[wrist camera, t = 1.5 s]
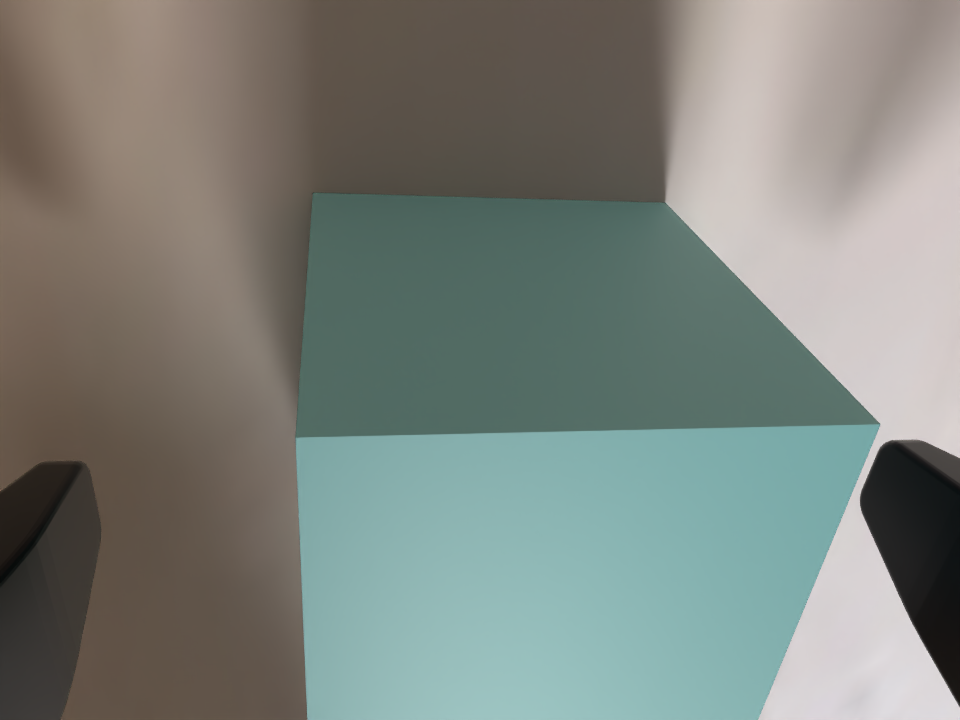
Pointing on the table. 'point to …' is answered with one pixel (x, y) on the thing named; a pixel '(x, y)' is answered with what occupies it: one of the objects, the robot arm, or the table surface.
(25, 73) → the table surface
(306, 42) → the table surface
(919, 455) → the robot arm
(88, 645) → the table surface
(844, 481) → the teal block
